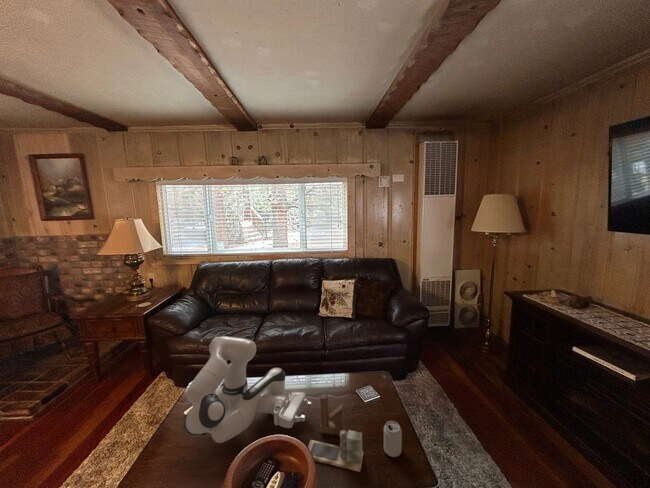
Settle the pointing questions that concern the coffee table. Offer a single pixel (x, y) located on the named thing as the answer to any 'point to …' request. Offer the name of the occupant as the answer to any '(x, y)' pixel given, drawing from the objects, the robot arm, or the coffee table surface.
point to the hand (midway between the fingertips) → (308, 411)
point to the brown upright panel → (330, 418)
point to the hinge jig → (340, 451)
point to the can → (392, 438)
